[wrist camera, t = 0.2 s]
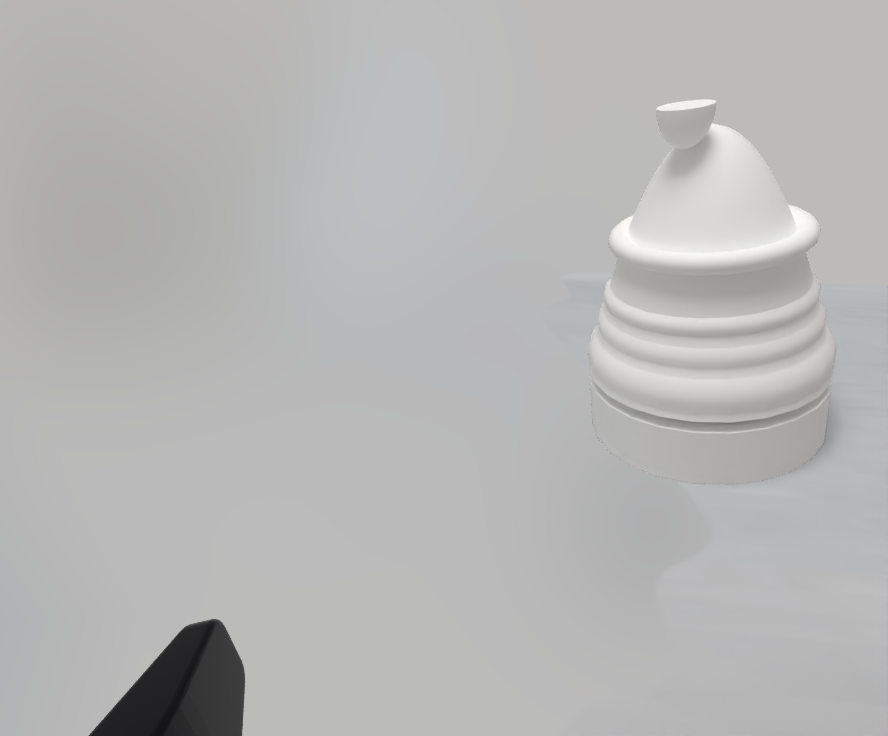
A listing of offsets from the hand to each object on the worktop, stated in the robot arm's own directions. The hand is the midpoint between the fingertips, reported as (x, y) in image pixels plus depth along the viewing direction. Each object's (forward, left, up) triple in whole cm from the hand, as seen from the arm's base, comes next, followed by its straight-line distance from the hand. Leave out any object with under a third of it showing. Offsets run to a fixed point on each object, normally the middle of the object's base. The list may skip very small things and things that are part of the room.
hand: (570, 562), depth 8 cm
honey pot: (+26, -14, -17) cm, 34 cm away
